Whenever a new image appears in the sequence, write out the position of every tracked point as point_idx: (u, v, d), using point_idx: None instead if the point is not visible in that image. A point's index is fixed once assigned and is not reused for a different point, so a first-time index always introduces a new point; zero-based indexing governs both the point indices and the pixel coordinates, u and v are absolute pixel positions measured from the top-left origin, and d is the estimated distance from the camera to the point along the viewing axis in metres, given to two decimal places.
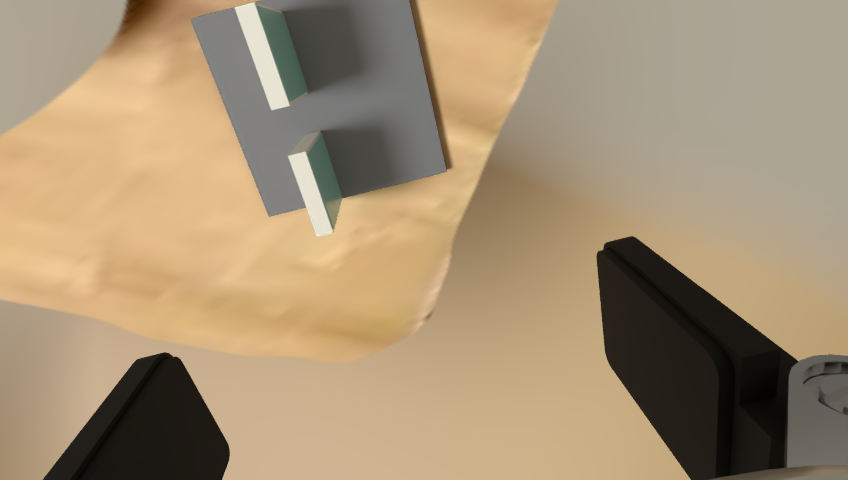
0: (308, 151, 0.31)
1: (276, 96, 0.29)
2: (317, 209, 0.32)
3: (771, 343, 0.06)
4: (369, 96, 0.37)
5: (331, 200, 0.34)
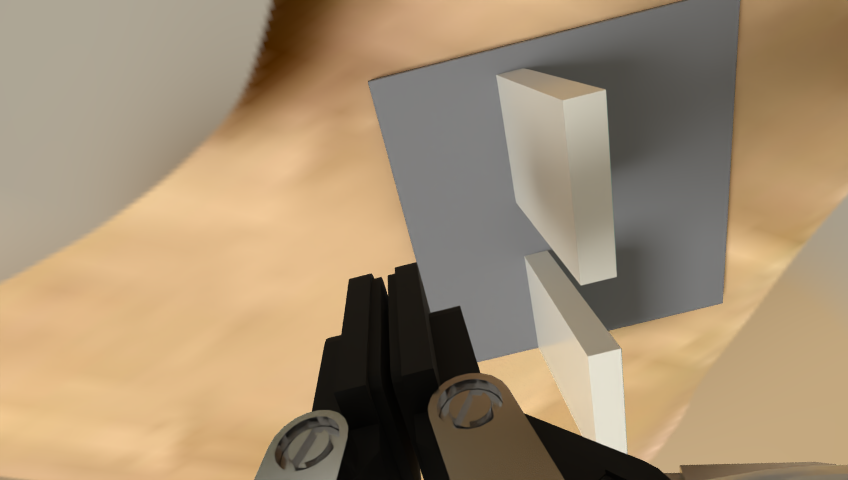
0: None
1: (597, 261, 0.15)
2: (612, 432, 0.18)
3: (432, 363, 0.07)
4: (634, 199, 0.23)
5: None
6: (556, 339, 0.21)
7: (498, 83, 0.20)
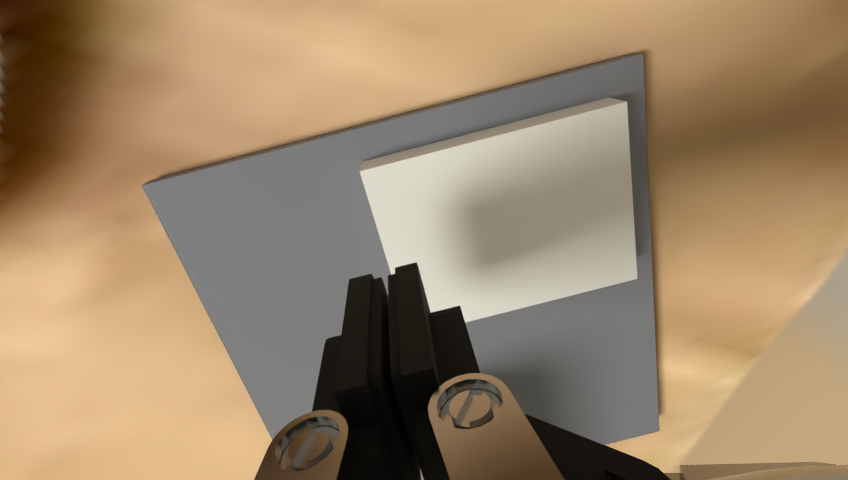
0: None
1: None
2: None
3: (431, 363, 0.07)
4: (530, 317, 0.17)
5: None
6: None
7: (369, 180, 0.14)
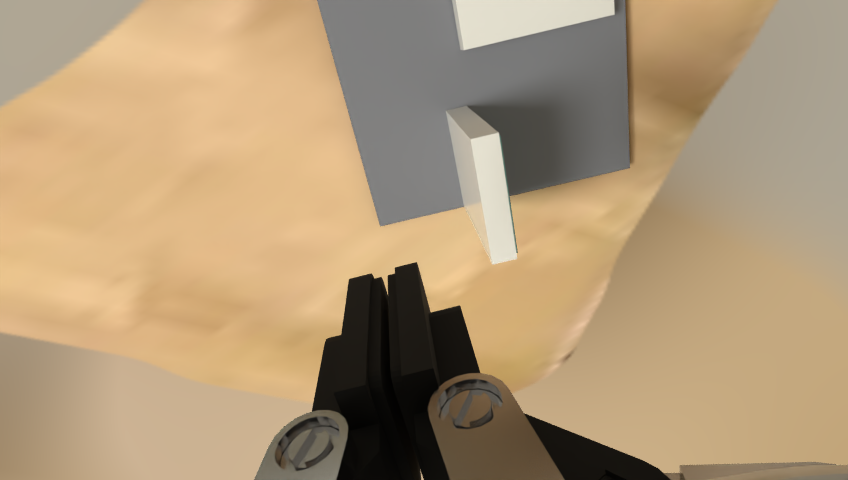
0: None
1: None
2: (500, 223, 0.21)
3: (431, 363, 0.07)
4: (541, 57, 0.26)
5: None
6: (464, 166, 0.23)
7: None
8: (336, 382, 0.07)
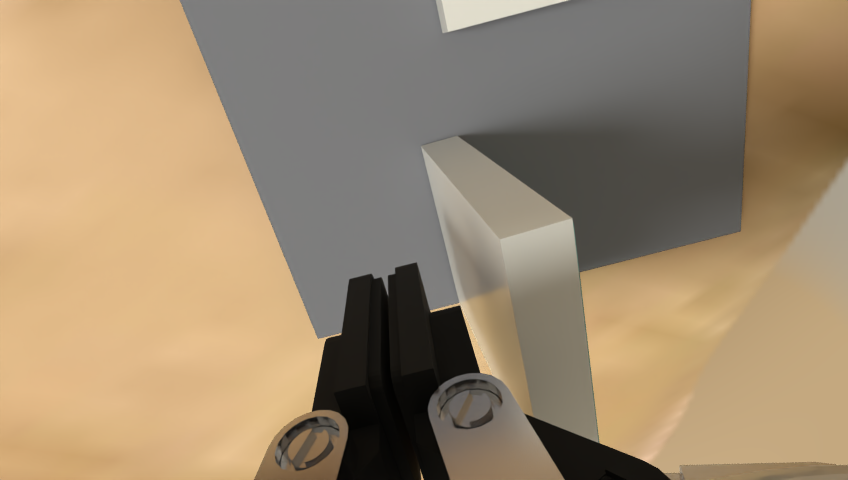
0: None
1: None
2: (569, 416, 0.09)
3: (431, 363, 0.07)
4: (594, 44, 0.14)
5: None
6: (466, 261, 0.12)
7: None
8: (336, 382, 0.07)
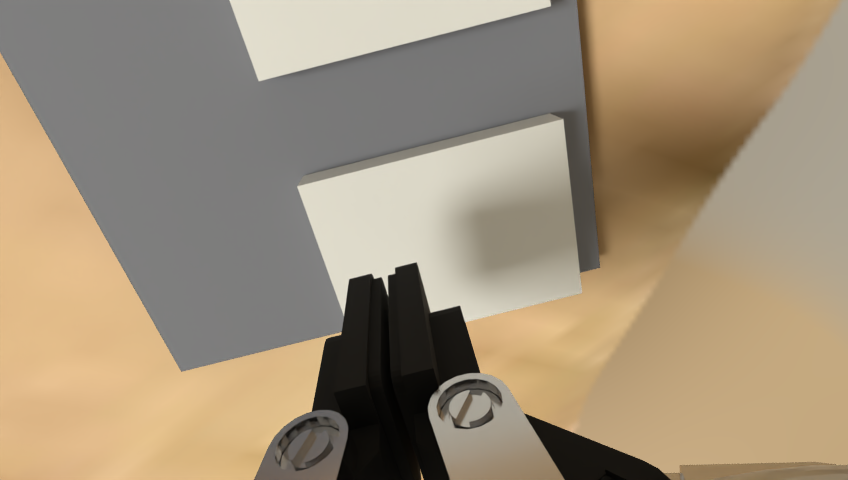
0: None
1: None
2: None
3: (431, 363, 0.07)
4: (426, 88, 0.14)
5: None
6: (449, 220, 0.14)
7: None
8: (336, 382, 0.07)
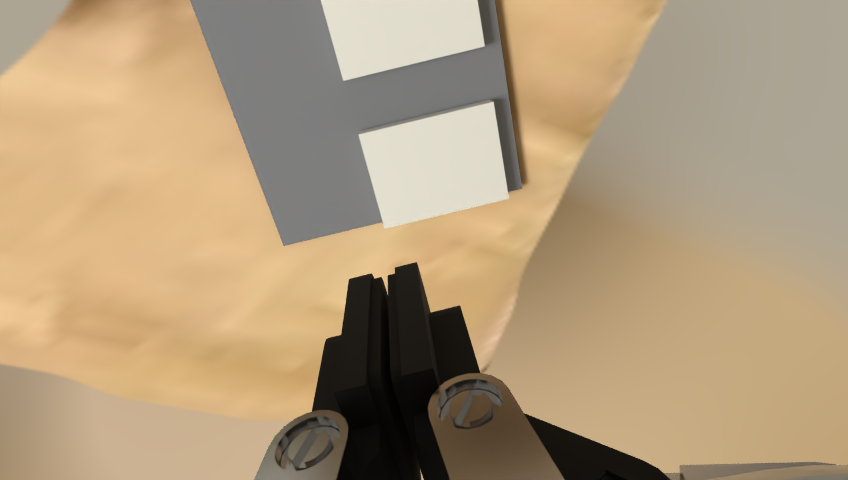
0: None
1: None
2: None
3: (431, 363, 0.07)
4: (424, 85, 0.27)
5: None
6: (436, 154, 0.27)
7: None
8: (336, 382, 0.07)
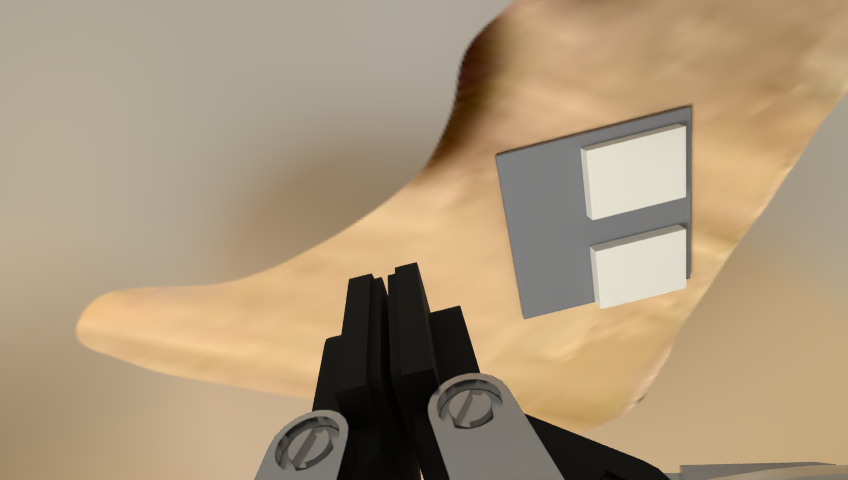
0: None
1: None
2: None
3: (431, 363, 0.07)
4: (636, 217, 0.40)
5: None
6: (643, 262, 0.41)
7: (589, 154, 0.36)
8: (336, 382, 0.07)
